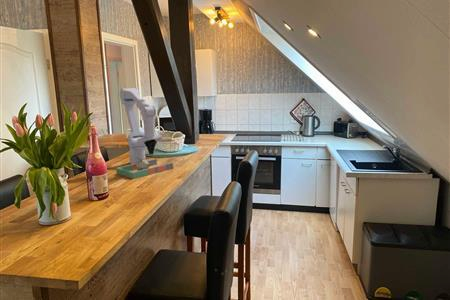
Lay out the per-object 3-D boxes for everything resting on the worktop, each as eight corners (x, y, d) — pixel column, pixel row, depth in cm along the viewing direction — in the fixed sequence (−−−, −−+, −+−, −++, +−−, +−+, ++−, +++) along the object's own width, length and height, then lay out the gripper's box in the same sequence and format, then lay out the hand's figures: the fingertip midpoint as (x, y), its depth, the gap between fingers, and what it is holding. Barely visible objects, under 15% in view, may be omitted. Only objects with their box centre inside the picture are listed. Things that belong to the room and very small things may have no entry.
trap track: (116, 173, 173) (115, 167, 172) (155, 163, 191) (155, 158, 190) (133, 178, 162) (132, 173, 162) (173, 168, 180) (172, 162, 180)
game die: (139, 179, 174) (129, 164, 175) (153, 171, 177) (143, 156, 179) (140, 175, 166) (130, 159, 167) (155, 167, 169) (145, 151, 170)
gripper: (142, 131, 168) (144, 157, 170) (165, 128, 178) (166, 152, 181) (134, 130, 172) (136, 155, 175) (157, 127, 183) (158, 151, 186)
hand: (151, 154), depth 178 cm, fingers closed
